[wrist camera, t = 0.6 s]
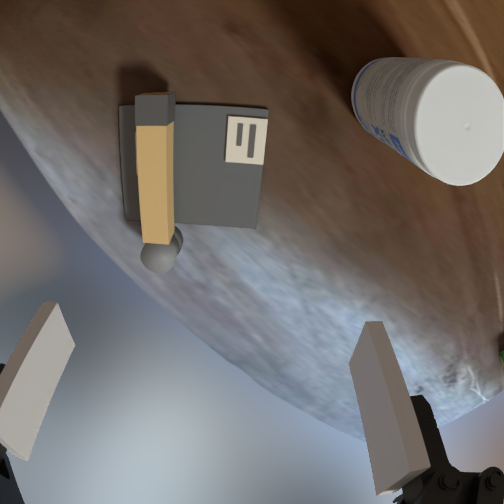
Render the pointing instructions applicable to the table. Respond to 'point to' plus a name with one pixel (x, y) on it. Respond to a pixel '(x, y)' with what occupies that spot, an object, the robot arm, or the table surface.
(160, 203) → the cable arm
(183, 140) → the mat
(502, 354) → the chalk box
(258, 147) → the label
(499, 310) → the table surface
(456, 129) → the supplement tub
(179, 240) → the pivot post
